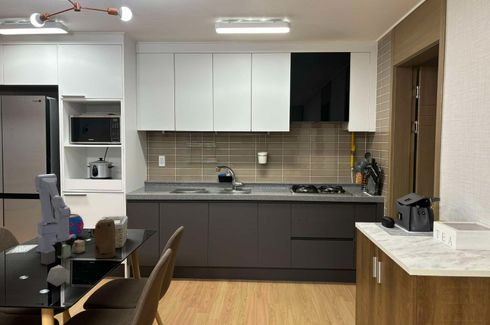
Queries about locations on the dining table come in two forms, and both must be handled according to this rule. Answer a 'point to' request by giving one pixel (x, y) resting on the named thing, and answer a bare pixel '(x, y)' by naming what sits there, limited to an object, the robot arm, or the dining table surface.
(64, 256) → the sage block
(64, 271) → the die
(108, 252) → the brown rough elongated lump
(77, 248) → the beech block
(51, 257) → the charcoal block
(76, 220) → the ceramic pot
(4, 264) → the dining table surface
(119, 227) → the storage basket
